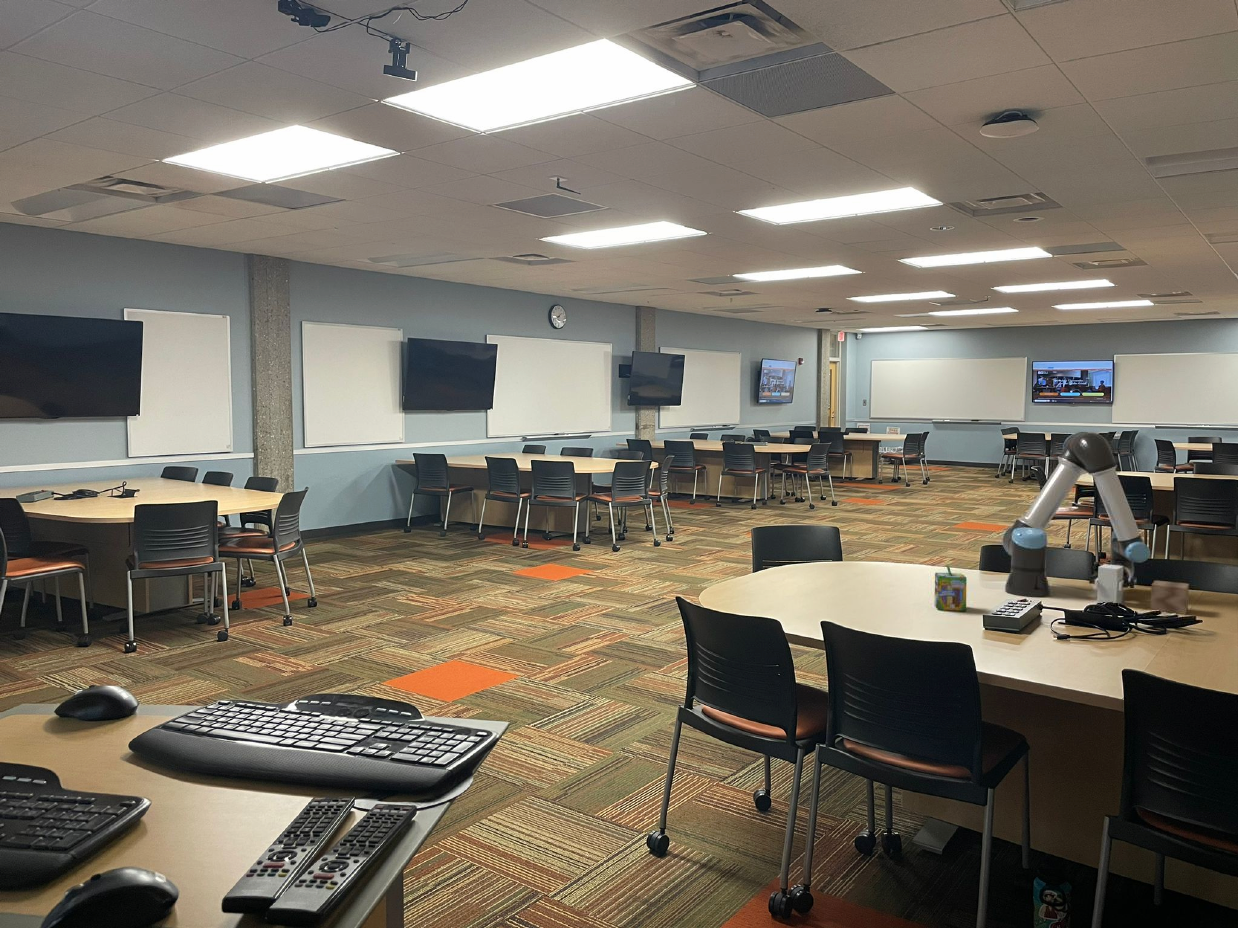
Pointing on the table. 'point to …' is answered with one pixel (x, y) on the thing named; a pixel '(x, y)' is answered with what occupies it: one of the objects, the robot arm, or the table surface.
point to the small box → (1109, 583)
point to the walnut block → (1169, 597)
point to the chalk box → (950, 591)
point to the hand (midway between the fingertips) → (1107, 585)
